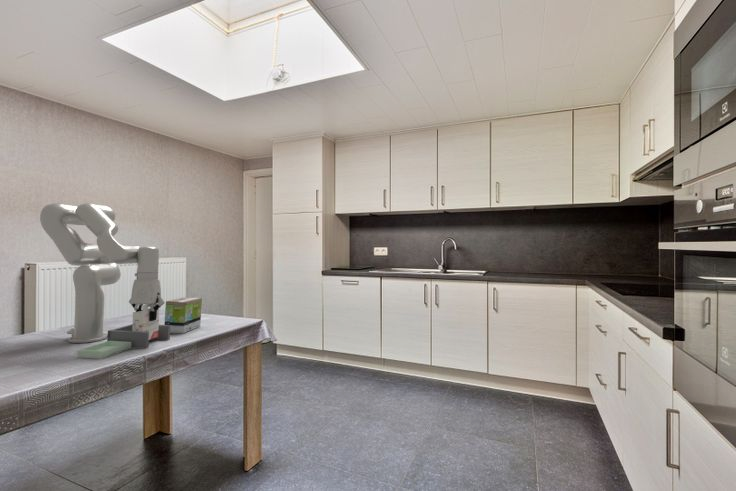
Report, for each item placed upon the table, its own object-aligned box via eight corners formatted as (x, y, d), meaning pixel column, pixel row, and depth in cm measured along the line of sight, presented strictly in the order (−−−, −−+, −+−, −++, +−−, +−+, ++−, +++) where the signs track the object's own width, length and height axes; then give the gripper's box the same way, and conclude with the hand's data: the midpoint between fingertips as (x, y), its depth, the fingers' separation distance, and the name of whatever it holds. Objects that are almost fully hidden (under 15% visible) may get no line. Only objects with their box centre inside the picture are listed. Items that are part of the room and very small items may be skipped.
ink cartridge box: (148, 336, 146) (150, 301, 146) (158, 337, 145) (159, 302, 145) (131, 341, 137) (132, 304, 138) (141, 342, 136) (142, 305, 137)
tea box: (184, 333, 157) (186, 301, 157) (163, 333, 157) (164, 301, 158) (201, 326, 172) (202, 297, 173) (181, 325, 172) (182, 296, 173)
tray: (77, 357, 121) (77, 350, 121) (108, 346, 134) (108, 340, 134) (102, 358, 120) (102, 351, 120) (131, 348, 133) (131, 341, 133)
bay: (107, 346, 135) (107, 330, 135) (134, 337, 149) (134, 323, 149) (146, 348, 134) (146, 332, 134) (169, 339, 147) (170, 325, 148)
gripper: (120, 276, 138) (119, 321, 138) (160, 277, 137) (159, 323, 137) (135, 275, 146) (133, 317, 146) (173, 276, 144) (171, 319, 144)
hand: (146, 319), depth 141 cm, fingers closed on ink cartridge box, 5 cm apart
